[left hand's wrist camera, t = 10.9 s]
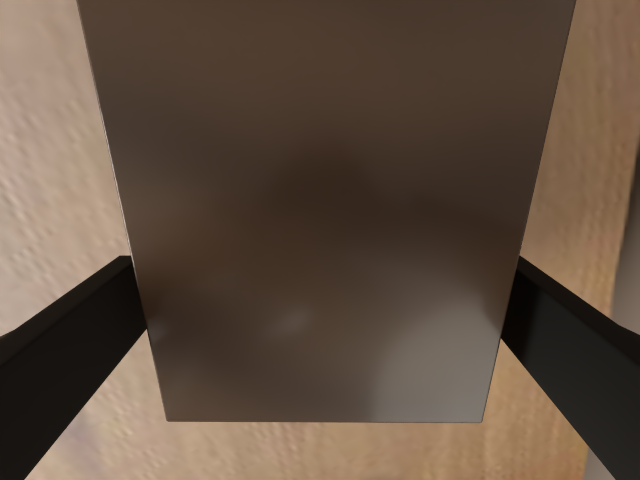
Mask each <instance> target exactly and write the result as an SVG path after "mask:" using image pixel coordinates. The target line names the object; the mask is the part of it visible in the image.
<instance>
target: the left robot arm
mask: <svg viewBox="0 0 640 480" xmlns="http://www.w3.org/2000/svg"><path fill="white" fill-rule="evenodd" d="M146 329H147V327H146V323H145V318H144V313H143V309H142V304H141V299H140V295H139V290H138V285H137V281H136V276H135V271H134V267H133V262H132V257H131V256H119V257H117V258H116V259H114V260H113V261H112V262H110V263H109V264H107V265H106V266H104V267H103V268H102V269H100V270H99V271H97V272H96V273H95V274H93V275H92V276H90V277H89V278H87V279H86V280H85V281H83V282H82V283H80V284H79V285H77V286H76V287H75V288H73V289H72V290H70V291H69V292H68V293H66V294H65V295H63V296H62V297H60V298H59V299H58V300H56V301H55V302H53V303H52V304H51V305H49V306H48V307H46V308H45V309H43V310H42V311H41V312H39V313H38V314H36V315H35V316H33V317H32V318H31V319H29V320H28V321H26V322H25V323H24V324H22V325H21V326H19V327H18V328H16V329H15V330H13V331H11V332H9V333H7V334H5V335H3V336H1V337H0V480H24V479H25V478H26V477H27V476H28V474H29V473H30V472H31V471H32V470H33V468H34V467H35V466H36V465H37V463H38V462H39V461H40V460H41V458H42V457H43V456H44V455H45V454H46V452H47V451H48V450H49V449H50V447H51V446H52V445H53V444H54V442H55V441H56V440H57V439H58V437H59V436H60V435H61V434H62V433H63V431H64V430H65V429H66V428H67V426H68V425H69V424H70V423H71V421H72V420H73V419H74V418H75V416H76V415H77V414H78V413H79V412H80V410H81V409H82V408H83V407H84V405H85V404H86V403H87V402H88V400H89V399H90V398H91V397H92V396H93V394H94V393H95V392H96V391H97V389H98V388H99V387H100V386H101V384H102V383H103V382H104V381H105V379H106V378H107V377H108V376H109V375H110V373H111V372H112V371H113V370H114V368H115V367H116V366H117V365H118V363H119V362H120V361H121V360H122V358H123V357H124V356H125V355H126V354H127V352H128V351H129V350H130V349H131V347H132V346H133V345H134V344H135V342H136V341H137V340H138V339H139V338H140V336H141V335H142V334H143V333H144V331H145V330H146ZM501 339H502V340H503V341H504V342H505V344H506V345H507V346H508V347H509V349H510V350H511V351H512V352H513V354H514V355H515V356H516V357H517V358H518V360H519V361H520V362H521V363H522V365H523V366H524V367H525V368H526V370H527V371H528V372H529V373H530V375H531V376H532V377H533V378H534V379H535V381H536V382H537V383H538V384H539V386H540V387H541V388H542V389H543V391H544V392H545V393H546V394H547V396H548V397H549V398H550V399H551V400H552V402H553V403H554V404H555V405H556V407H557V408H558V409H559V410H560V412H561V413H562V414H563V415H564V416H565V418H566V419H567V420H568V421H569V423H570V424H571V425H572V426H573V428H574V429H575V430H576V431H577V433H578V434H579V435H580V436H581V437H582V439H583V440H584V441H585V442H586V444H587V445H588V446H589V447H590V449H591V450H592V451H593V452H594V454H595V455H596V456H597V457H598V458H599V460H600V461H601V462H602V463H603V465H604V466H605V467H606V468H607V470H608V471H609V472H610V473H611V474H612V476H613V477H614V478H615V479H616V480H640V335H638V334H636V333H634V332H632V331H630V330H628V329H626V328H624V327H622V326H619V325H618V324H616V323H615V322H614V321H612V320H611V319H609V318H608V317H607V316H605V315H604V314H602V313H601V312H599V311H598V310H597V309H595V308H594V307H592V306H591V305H589V304H588V303H587V302H585V301H584V300H582V299H581V298H580V297H578V296H577V295H575V294H574V293H572V292H571V291H570V290H568V289H567V288H565V287H564V286H563V285H561V284H560V283H558V282H557V281H555V280H554V279H553V278H551V277H550V276H548V275H547V274H545V273H544V272H543V271H541V270H540V269H538V268H537V267H536V266H534V265H533V264H531V263H530V262H528V261H527V260H526V259H524V258H523V257H521V256H519V259H518V263H517V268H516V272H515V276H514V281H513V285H512V290H511V294H510V299H509V303H508V308H507V312H506V317H505V321H504V326H503V330H502V335H501Z"/></svg>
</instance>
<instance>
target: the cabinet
mask: <svg viewBox="0 0 640 480" xmlns="http://www.w3.org/2000/svg"><path fill="white" fill-rule="evenodd" d="M76 1H77V5H78V10H79V15H80V19H81V24H82V29H83V33H84V38H85V43H86V47H87V52H88V57H89V61H90V66H91V71H92V75H93V80H94V85H95V89H96V94H97V99H98V103H99V108H100V113H101V117H102V122H103V127H104V131H105V136H106V141H107V145H108V150H109V155H110V159H111V164H112V169H113V173H114V178H115V183H116V187H117V192H118V197H119V201H120V206H121V211H122V215H123V220H124V225H125V229H126V234H127V239H128V243H129V248H130V253H131V257H132V262H133V267H134V271H135V276H136V281H137V285H138V290H139V295H140V299H141V304H142V309H143V313H144V318H145V323H146V327H147V332H148V337H149V341H150V346H151V351H152V355H153V360H154V365H155V369H156V374H157V379H158V383H159V388H160V393H161V397H162V402H163V407H164V411H165V416H166V420H167V421H168V422H378V423H481V422H482V420H483V415H484V411H485V406H486V402H487V397H488V393H489V388H490V384H491V379H492V375H493V370H494V366H495V361H496V357H497V353H498V348H499V344H500V339H501V335H502V330H503V326H504V321H505V317H506V312H507V308H508V303H509V299H510V294H511V290H512V285H513V281H514V276H515V272H516V268H517V263H518V259H519V254H520V250H521V245H522V241H523V236H524V232H525V227H526V223H527V218H528V214H529V209H530V205H531V200H532V196H533V191H534V187H535V182H536V178H537V174H538V169H539V165H540V160H541V156H542V151H543V147H544V142H545V138H546V133H547V129H548V124H549V120H550V115H551V111H552V106H553V102H554V97H555V93H556V89H557V84H558V80H559V75H560V71H561V66H562V62H563V57H564V53H565V48H566V44H567V39H568V35H569V30H570V26H571V21H572V17H573V12H574V8H575V3H576V0H76Z"/></svg>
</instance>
